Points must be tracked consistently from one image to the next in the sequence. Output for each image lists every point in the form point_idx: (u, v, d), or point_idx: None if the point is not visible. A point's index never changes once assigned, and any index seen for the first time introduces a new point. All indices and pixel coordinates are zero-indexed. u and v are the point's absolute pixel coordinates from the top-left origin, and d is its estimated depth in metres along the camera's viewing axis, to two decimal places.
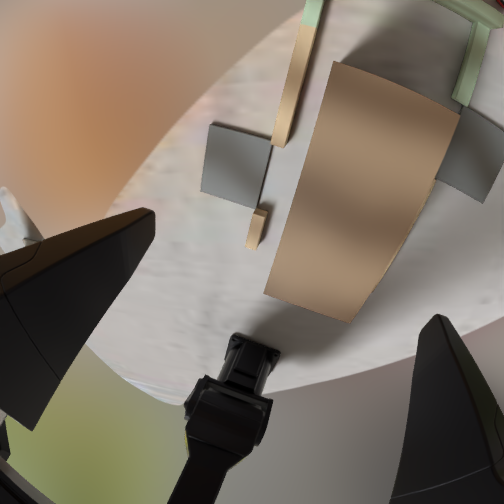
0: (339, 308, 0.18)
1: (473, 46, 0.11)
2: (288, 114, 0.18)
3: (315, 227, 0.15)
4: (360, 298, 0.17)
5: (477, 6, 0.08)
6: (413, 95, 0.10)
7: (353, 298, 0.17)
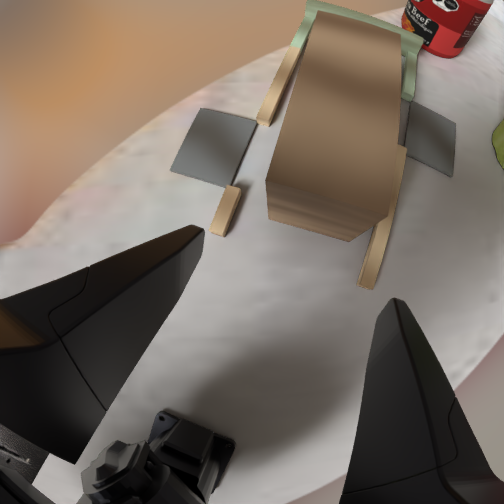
0: (368, 189, 0.13)
1: (407, 63, 0.21)
2: (275, 95, 0.21)
3: (321, 92, 0.14)
4: (387, 169, 0.13)
5: (404, 33, 0.19)
6: (368, 24, 0.14)
7: (380, 170, 0.13)
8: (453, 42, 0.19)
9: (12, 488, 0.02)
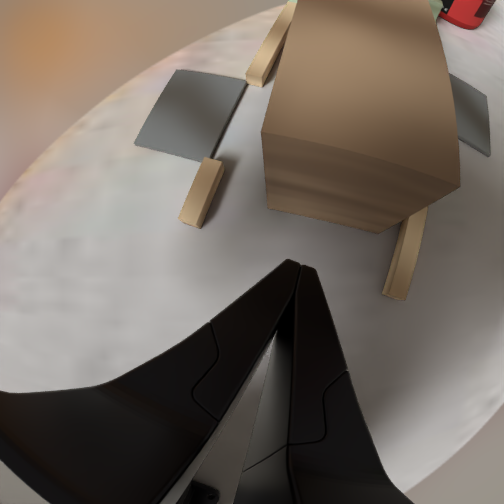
0: (427, 145, 0.07)
1: None
2: (270, 50, 0.15)
3: (335, 18, 0.08)
4: (446, 118, 0.07)
5: None
6: None
7: (437, 118, 0.07)
8: (474, 10, 0.13)
9: None
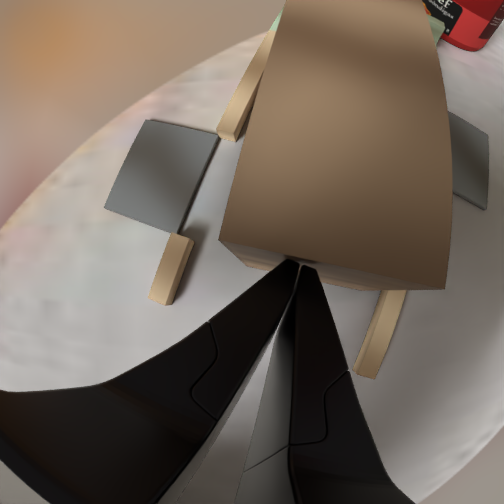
0: (413, 242, 0.07)
1: None
2: (245, 97, 0.15)
3: (316, 66, 0.08)
4: (441, 201, 0.07)
5: None
6: None
7: (430, 204, 0.07)
8: (480, 31, 0.13)
9: None
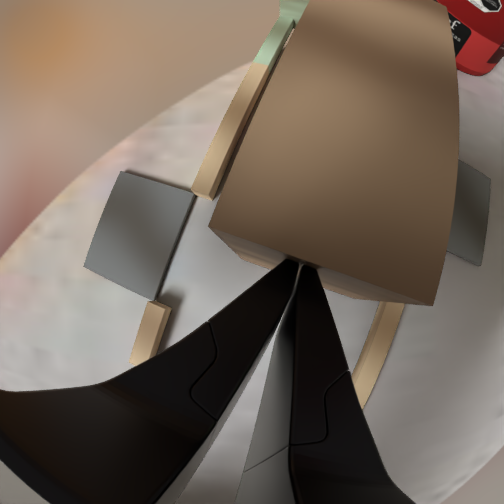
0: (405, 253, 0.07)
1: None
2: (222, 150, 0.15)
3: (330, 67, 0.07)
4: (440, 215, 0.07)
5: None
6: None
7: (428, 216, 0.07)
8: (488, 56, 0.12)
9: None
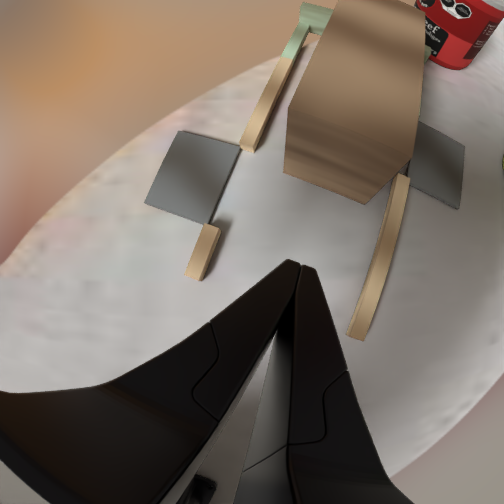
0: (392, 130, 0.12)
1: None
2: (262, 116, 0.19)
3: (347, 44, 0.12)
4: (411, 116, 0.12)
5: None
6: (395, 0, 0.13)
7: (404, 115, 0.12)
8: (464, 53, 0.17)
9: None
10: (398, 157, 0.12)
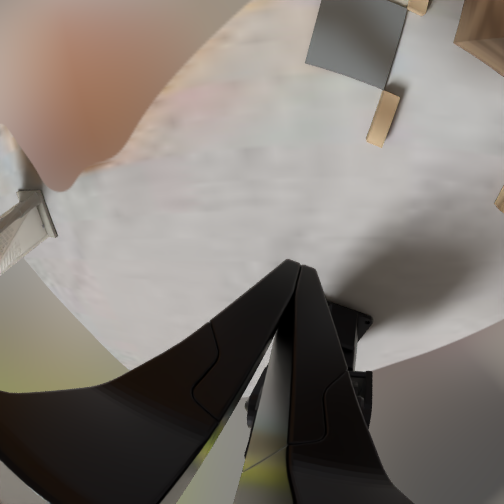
0: None
1: None
2: None
3: None
4: None
5: None
6: None
7: None
8: None
9: None
10: None
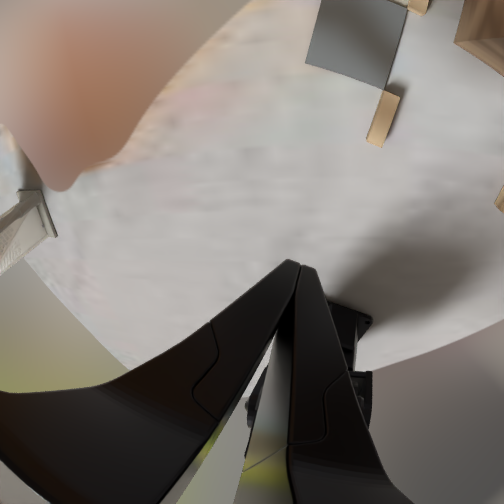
0: None
1: None
2: None
3: None
4: None
5: None
6: None
7: None
8: None
9: None
10: None
